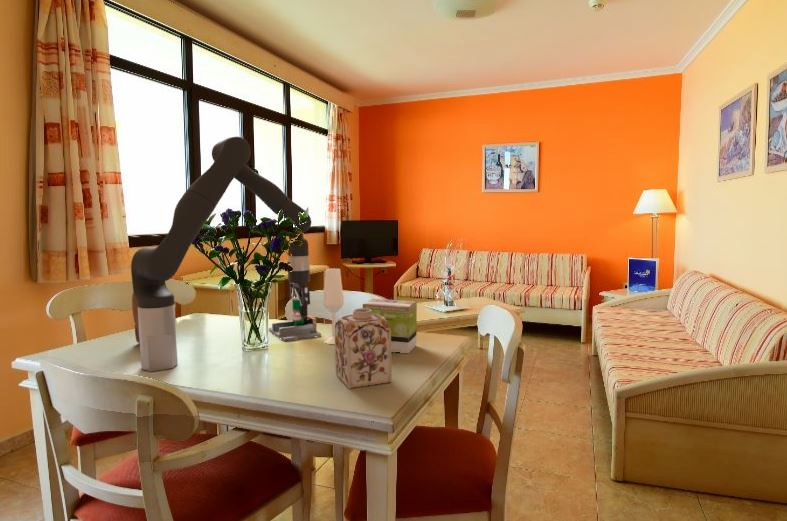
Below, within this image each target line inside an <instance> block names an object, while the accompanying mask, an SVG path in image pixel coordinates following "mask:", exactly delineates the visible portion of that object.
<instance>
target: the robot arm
mask: <svg viewBox="0 0 787 521" xmlns="http://www.w3.org/2000/svg"><path fill="white" fill-rule="evenodd" d="M251 151H252V150H251V146H250V144H249V142H248V141H247V140H246V139H245V138H243V137H242V136H228V137H226V138H225V139H222V140H220V141H218V142H217V143H215V145H213V147H212V148H211V158H212V160H213V163H212V165H211V166H210V167H209V168H208V169H207V170H205V171H204V173H202V174H201V175H200V176H199V177H198V178H197V179H196V180H195V181H194V182H193V183H191V185H190V186H189V187H188V188H187V189H186V190H185V192H184V193H183V195H182V196H181V198H180V199H179V200H178V202H177V204H176V206H175V208H174V213H173V219H172V224H171V226H170V229H169V231H168V233H167V234H166V235H165V237H164V238H163V240H162V241H161V242H160V244H159V245H157V246H156V247H154V246H153V247H152V246H149V247H148V246H147V247H146V246H145V247H142V248H139V249H138V250H137V251H136V252H135V253H134V254H133V256H132V258H131V262H130V272H131V282H132V291H133V292H134V296H135V298H136V300H137V305H138V322H139V338H140V344H139V352H140V367H141V369H142V370H143V371H148V373H149V372H156V371H157V372H158V371H163V370H169V369H174V367H176V366H177V365H178V346H177V334H176V333H177V330H176V328H177V327H176V310H175V309H176V307H175V296H174V294H173V293H172V292H171V291H170V290H169V289H168V287H167V285H166V282H167V281H169V280H170V279H172V278H173V277H174V276H175V275H176V274H177V272H178V270H179V269H180V266H181V265H182V263H183V261H184V259H185V257H186V255H187V253H188V250H189V249H190V247H191V245H192V244H193V242H194V240H195V239H196V237H197V236H198V235H199V233H200V231H201V229H202V228H203V227H204V225H205V224H206V222H207V221H208V219H209V218H210V217H211V215H212V214H213V213H214V211H215V208H216V207H217V206H218V204H219V202H220V200H221V199H222V198H223V196H224V194H225V193H226V191H227V190H228V188H229V187H230V184H231V183H232V181H233V180H234V179H235V180H237V182H239V183H240V184H242V185H243V186H244V187H245V188H247V189H248V190H249V191H250V192H252V193H253V195H255V196H256V197H257V198H259V199H260V200H261V201H262V203H264V204H265V205H266V206H267V207H268V208H269V209H270V211H272V212H273V213H274V214H275V215H277V216H279V215H278V213H279V211H280V210H281V209H282V210H283V214H284V217H283V219H285V218H287V217H291V218H292V220H293V221H294V222H295V224H296V226H297V227H298V228H300V229H301V230H302V234H300V235H299V236H298V238H297V239H295V240H300V241H302V243H303V244H302V245H301V246H295V245H293V244H292V243H291V244H290V246H289V250H288V249H287V252H289V253H291V254H292V256H291V257H290V256H288V255H287V263H288V262H291V263H290V264H291V266H292V267H293V270H292V272H288V271H287V280H288V283H289V300H291V302H292V299H293V296H296V297H297V299H298V301H300V305H301V316H302V317H305V316H307V315H309V314H308V306H309V305H311V295H310V294H311V293H310V290H311V289H310V287H309V286H307V287H306V283H309V282H310V281H311V275H310V274H311V272H310V270H311V269H310V268H311V267H310V256H309V255H310V254H309V242H308V240H307V239H306V238H304V232H306V231H308V230H309V229H311V226H312V219H311V216H310V214H308V217H307V222H306V223H304V224H301V225H299V216H298V212H301V213H303V212H305V211H306V210H305V209H304V208H302V207H301V206H300V205H299V204H297V203H296V202H294V201H292V200H291V198H290V197H288V195H286V193H285V192H283V191H282V189H281V188H280V187H278V185H276V184H275V183H274V182H272V181H271V180H269V179H268V178H266V177H264V176H262V175H260V174H259V173H257V172H256V171H255V170H253V169H252V168H250V166H249V165H247V163H248V162H249V160H250V157H251V153H252V152H251ZM282 210H281V211H282ZM291 241H293V240H291ZM133 292H132V293H133ZM304 300H305V301H304Z"/></svg>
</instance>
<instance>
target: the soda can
mask: <svg viewBox="0 0 787 521" xmlns="http://www.w3.org/2000/svg"><path fill="white" fill-rule="evenodd" d="M291 300H292V301H291V304H292V305H291V308H292V309H291V310H292V311H291V313H292V321H293V326H298V325H306V324H307V316H305V317H302V316H301V305H300V301H298V299H297V297H296V296H293V299H291ZM304 301H305V300H304Z"/></svg>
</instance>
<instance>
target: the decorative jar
mask: <svg viewBox="0 0 787 521" xmlns="http://www.w3.org/2000/svg"><path fill="white" fill-rule="evenodd" d="M334 354H335V355H334V360H335V372H336V373H335V375H336V376H337V377H338V378H339V379H340V380H341V381H342V382H343V384H344V385H345V386H346V387H347V389H349V388H350V389H355V388H354V387H356V388H361V386H363V387H368V385H370V386H376V385H375V384H377V385H382V384H381V383H383V384H388V383H387V382H389V383H391V382H392V358H393V357H392V352H391V330H390V327H389V325H388V323H387V320H386V318H384V317H383V316H380V315H375V314H372V310H371V309H367V308H363V307H360V308H355V309H353V311H352V314H349V315H344V316H342V317H340V318H338V320H337V321H336V325H335V345H334Z"/></svg>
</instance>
